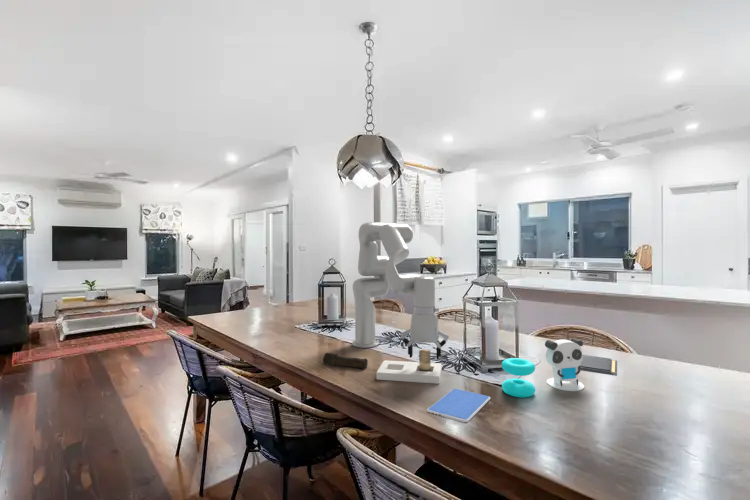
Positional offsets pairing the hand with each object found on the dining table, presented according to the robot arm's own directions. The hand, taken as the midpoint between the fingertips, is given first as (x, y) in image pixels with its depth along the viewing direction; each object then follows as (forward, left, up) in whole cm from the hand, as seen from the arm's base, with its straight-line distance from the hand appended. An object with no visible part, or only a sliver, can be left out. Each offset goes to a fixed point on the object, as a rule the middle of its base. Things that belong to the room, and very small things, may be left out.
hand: (424, 357), depth 138 cm
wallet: (-24, +64, -7) cm, 68 cm away
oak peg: (0, 0, -7) cm, 7 cm away
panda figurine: (0, +47, -7) cm, 47 cm away
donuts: (+10, +31, -7) cm, 33 cm away
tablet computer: (+23, +12, -7) cm, 27 cm away
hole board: (0, -5, -7) cm, 8 cm away
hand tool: (-4, -32, -7) cm, 33 cm away
